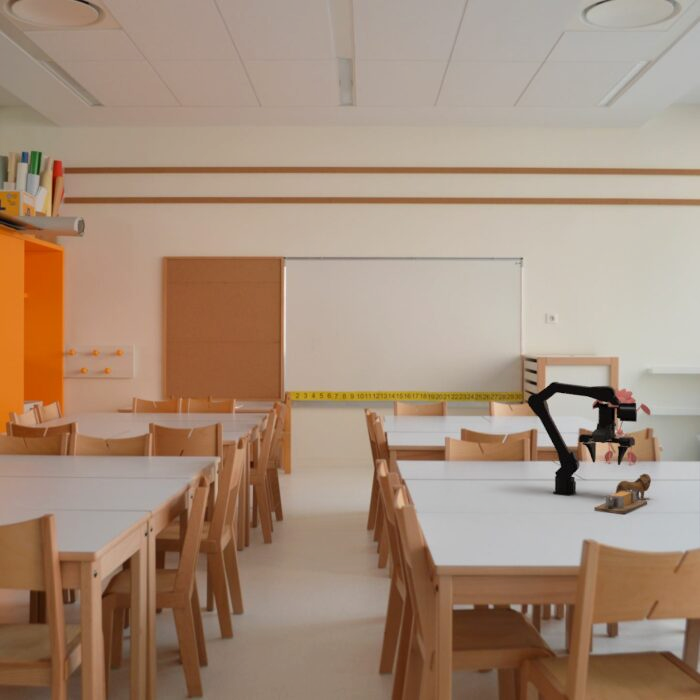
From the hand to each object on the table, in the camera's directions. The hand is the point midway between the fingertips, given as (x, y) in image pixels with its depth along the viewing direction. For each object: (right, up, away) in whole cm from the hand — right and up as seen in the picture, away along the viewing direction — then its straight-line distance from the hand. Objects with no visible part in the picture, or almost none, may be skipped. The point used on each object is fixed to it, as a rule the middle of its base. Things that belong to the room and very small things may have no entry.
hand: (606, 463), depth 284 cm
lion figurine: (+8, -12, -4) cm, 15 cm away
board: (-1, -12, -19) cm, 22 cm away
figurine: (+34, -12, +84) cm, 92 cm away
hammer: (-1, -11, -19) cm, 22 cm away
